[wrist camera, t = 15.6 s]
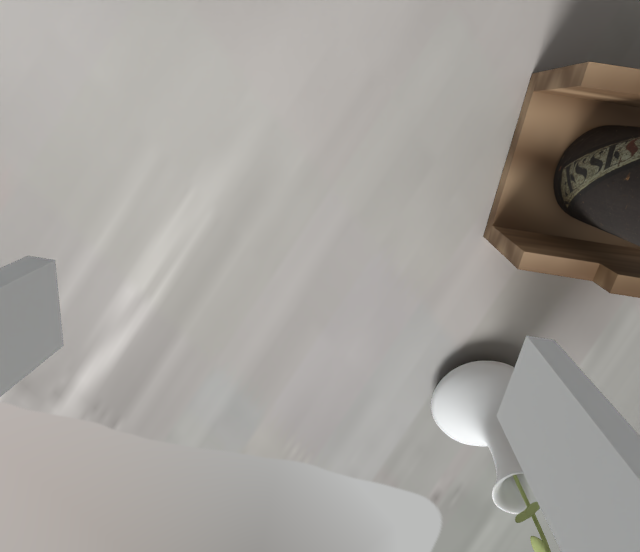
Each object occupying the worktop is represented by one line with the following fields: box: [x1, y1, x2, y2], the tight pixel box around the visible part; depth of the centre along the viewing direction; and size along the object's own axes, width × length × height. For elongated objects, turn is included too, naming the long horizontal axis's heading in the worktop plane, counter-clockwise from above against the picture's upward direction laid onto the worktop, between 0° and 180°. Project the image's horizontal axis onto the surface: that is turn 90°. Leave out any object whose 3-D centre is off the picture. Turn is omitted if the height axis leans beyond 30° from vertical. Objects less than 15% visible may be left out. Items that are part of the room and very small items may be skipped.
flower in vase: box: [431, 361, 551, 552], centre depth 38 cm, size 13×11×25 cm
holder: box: [483, 62, 640, 298], centre depth 34 cm, size 15×16×12 cm
